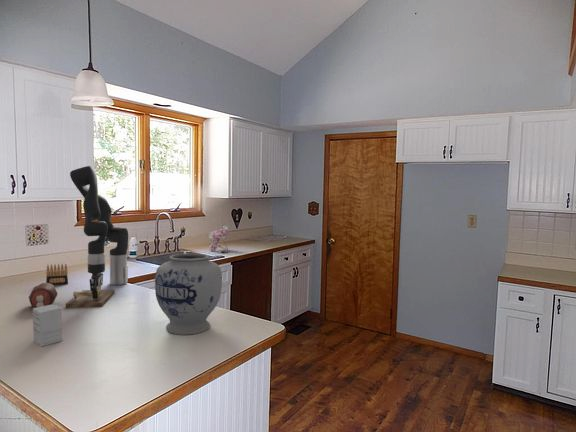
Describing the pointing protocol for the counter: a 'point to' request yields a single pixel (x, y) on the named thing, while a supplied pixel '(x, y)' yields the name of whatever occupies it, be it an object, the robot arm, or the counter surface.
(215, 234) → the flower
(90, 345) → the counter surface
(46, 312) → the supplement box
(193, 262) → the apothecary jar
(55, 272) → the ammunition clip
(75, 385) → the counter surface
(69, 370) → the counter surface
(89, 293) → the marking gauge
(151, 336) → the counter surface
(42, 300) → the meat
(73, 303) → the walnut board
